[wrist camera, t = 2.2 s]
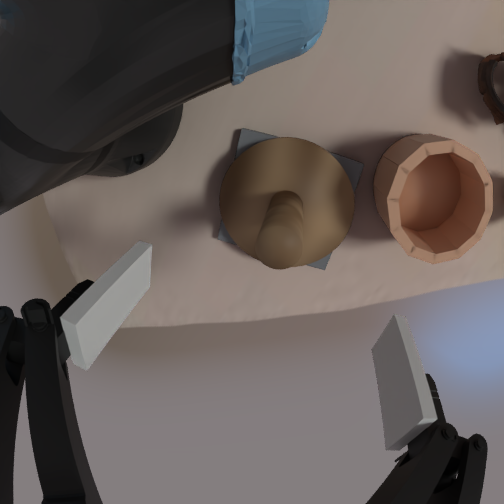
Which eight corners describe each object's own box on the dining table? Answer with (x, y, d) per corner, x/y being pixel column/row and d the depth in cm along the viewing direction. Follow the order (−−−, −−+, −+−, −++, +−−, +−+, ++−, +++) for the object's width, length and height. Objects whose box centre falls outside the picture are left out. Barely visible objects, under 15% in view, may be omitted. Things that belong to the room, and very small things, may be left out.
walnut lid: (212, 242, 32) (177, 295, 23) (237, 122, 26) (203, 129, 17) (327, 275, 32) (332, 339, 23) (370, 161, 26) (403, 188, 17)
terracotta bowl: (358, 217, 29) (369, 242, 24) (392, 117, 24) (413, 119, 19) (441, 248, 29) (462, 275, 23) (476, 159, 23) (507, 173, 18)
